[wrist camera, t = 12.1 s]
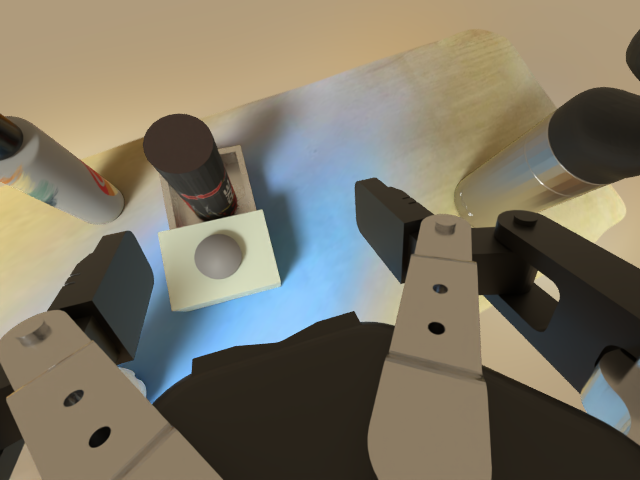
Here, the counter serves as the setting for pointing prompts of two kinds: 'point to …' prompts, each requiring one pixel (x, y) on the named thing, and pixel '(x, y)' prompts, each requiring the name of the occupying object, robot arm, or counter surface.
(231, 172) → the white open box
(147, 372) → the counter surface
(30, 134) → the lotion bottle
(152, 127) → the deodorant
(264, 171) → the counter surface
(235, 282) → the cream rectangular block
